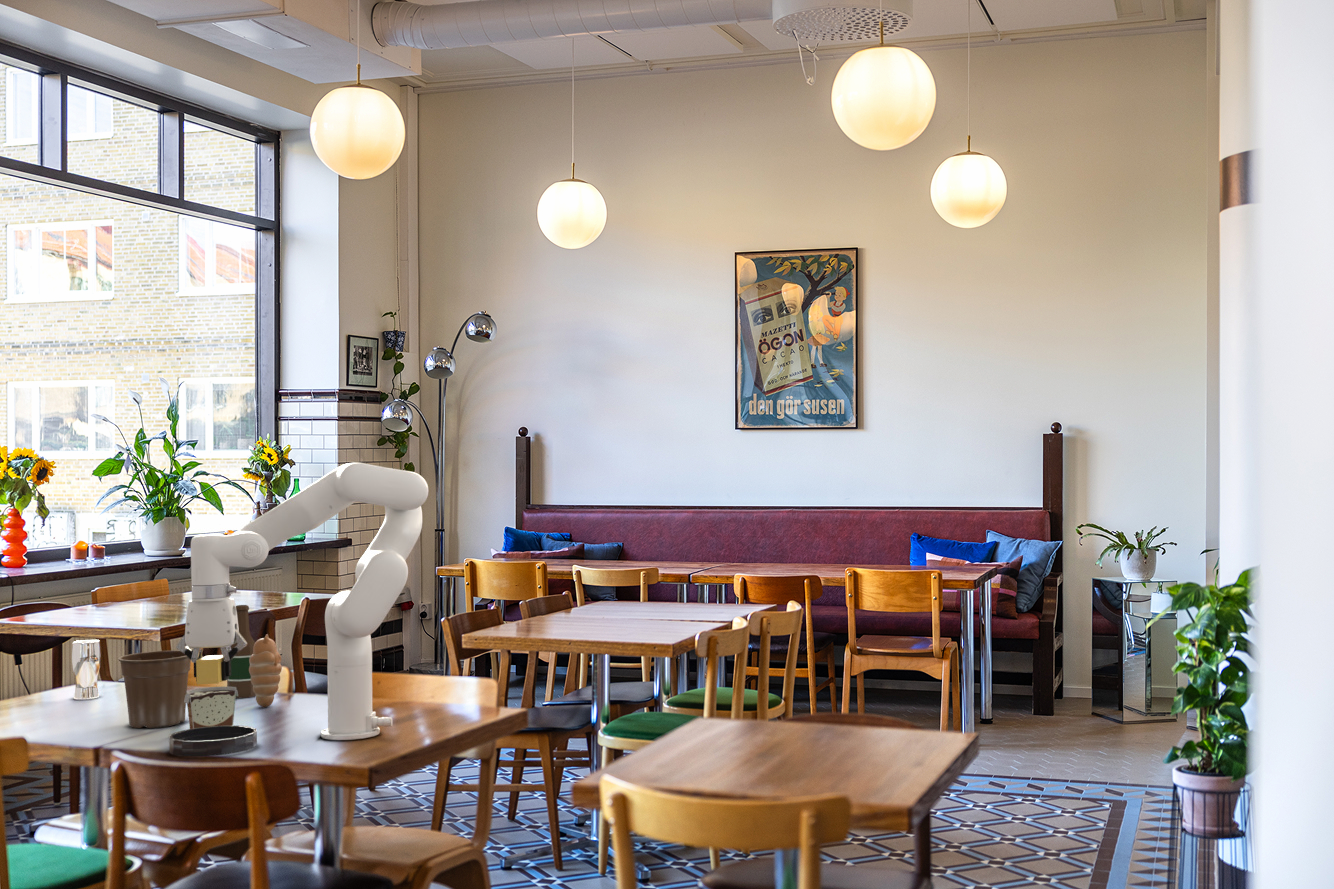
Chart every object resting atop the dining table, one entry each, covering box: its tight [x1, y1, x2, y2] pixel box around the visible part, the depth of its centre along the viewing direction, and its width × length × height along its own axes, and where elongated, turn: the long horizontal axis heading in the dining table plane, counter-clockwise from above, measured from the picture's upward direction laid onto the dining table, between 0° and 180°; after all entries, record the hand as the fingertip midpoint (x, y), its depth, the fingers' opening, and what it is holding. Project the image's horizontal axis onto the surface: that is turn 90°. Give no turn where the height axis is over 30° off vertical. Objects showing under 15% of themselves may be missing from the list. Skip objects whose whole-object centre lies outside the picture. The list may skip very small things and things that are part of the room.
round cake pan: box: [168, 724, 258, 757], centre depth 266 cm, size 17×17×4 cm
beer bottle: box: [226, 604, 256, 699], centre depth 337 cm, size 8×8×24 cm
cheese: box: [196, 654, 223, 685], centre depth 267 cm, size 4×7×5 cm, turn 3°
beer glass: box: [71, 639, 102, 701], centre depth 339 cm, size 7×7×15 cm
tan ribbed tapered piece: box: [249, 633, 283, 708], centre depth 319 cm, size 9×8×18 cm
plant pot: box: [117, 650, 192, 729], centre depth 298 cm, size 16×16×16 cm
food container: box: [184, 686, 238, 729], centre depth 284 cm, size 12×6×10 cm, turn 141°
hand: (212, 679), depth 267 cm, fingers closed on cheese, 4 cm apart
